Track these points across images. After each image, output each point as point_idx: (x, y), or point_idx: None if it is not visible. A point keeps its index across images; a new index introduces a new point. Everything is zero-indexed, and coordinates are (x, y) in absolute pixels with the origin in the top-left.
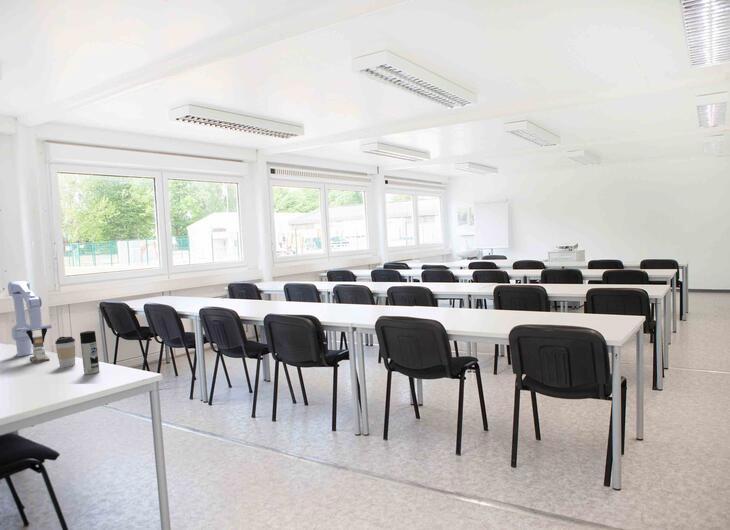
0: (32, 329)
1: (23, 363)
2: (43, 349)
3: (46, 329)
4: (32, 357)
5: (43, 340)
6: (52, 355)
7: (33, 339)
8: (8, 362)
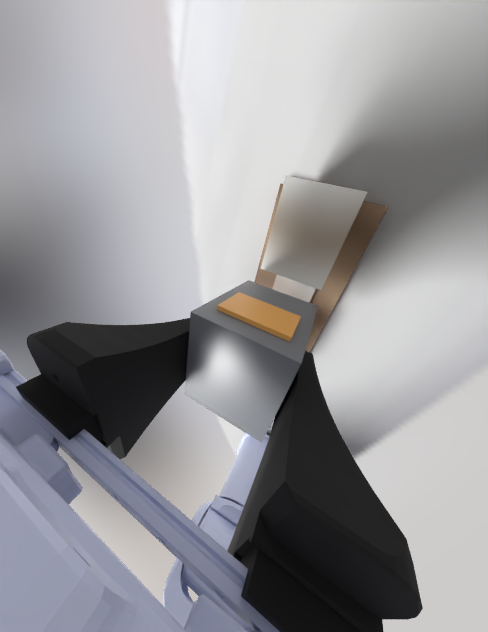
0: (203, 608)
1: (406, 290)
2: (278, 221)
3: (36, 359)
4: None
5: None
6: None
7: (302, 357)
8: (397, 416)
